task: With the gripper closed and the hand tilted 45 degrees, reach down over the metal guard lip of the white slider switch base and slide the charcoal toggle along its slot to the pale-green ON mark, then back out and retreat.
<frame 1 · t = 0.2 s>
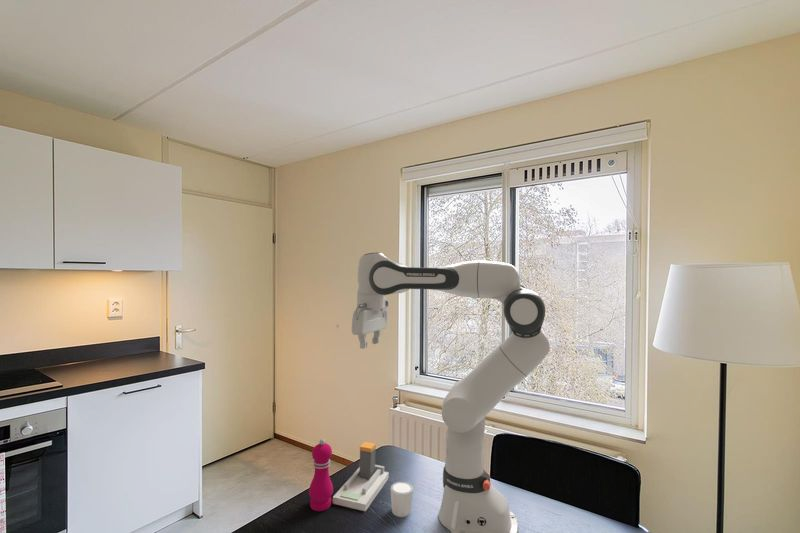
hand: (369, 345, 123), 48 cm above the table, tool pointing down, fingers open, 8 cm apart
white slider switch base: (362, 490, 125), on the table
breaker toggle: (367, 460, 130), point 7 cm above the table, slide at 0.0 cm
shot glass: (401, 511, 115), on the table
pepper mill: (320, 505, 117), on the table
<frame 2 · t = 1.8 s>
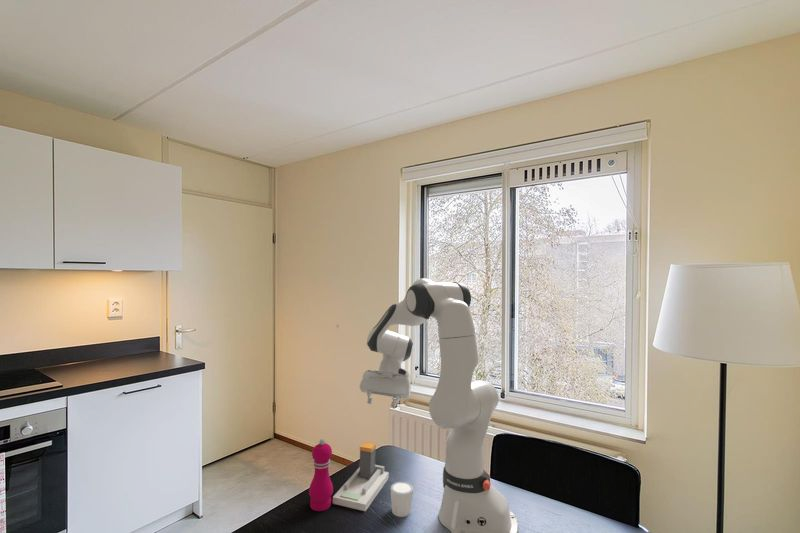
hand: (381, 405, 147), 21 cm above the table, tool tilted 45°, fingers open, 8 cm apart
nothing on the table moved.
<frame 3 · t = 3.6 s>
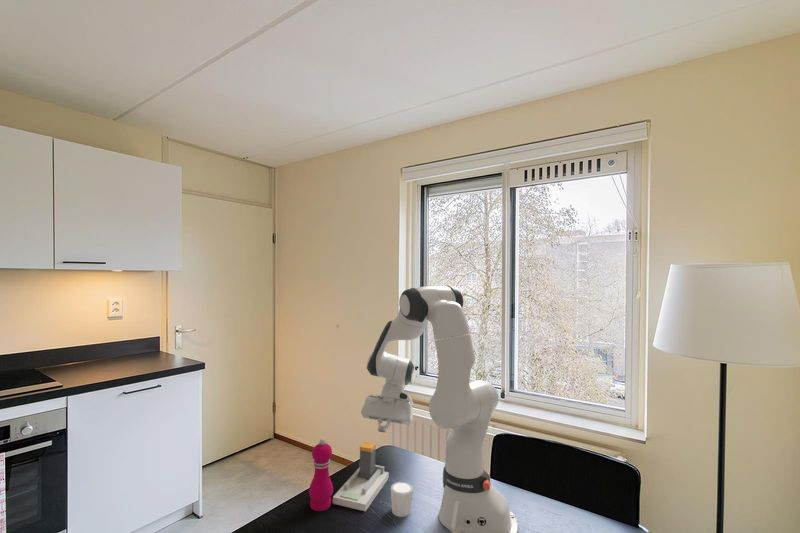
hand: (381, 431, 143), 12 cm above the table, tool tilted 45°, fingers closed
nothing on the table moved.
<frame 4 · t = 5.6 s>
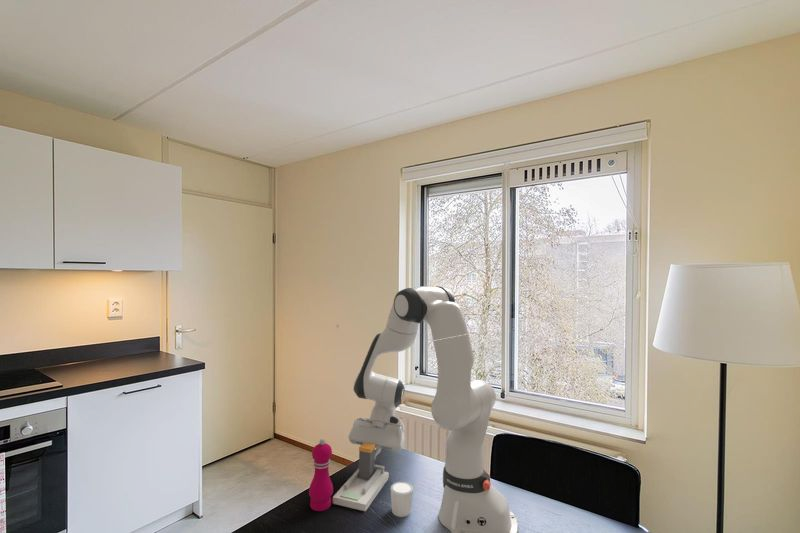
hand: (370, 459, 132), 7 cm above the table, tool tilted 45°, fingers closed, pressing on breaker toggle
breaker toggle: (366, 460, 130), point 7 cm above the table, slide at 0.6 cm, touching gripper
everything else where it was.
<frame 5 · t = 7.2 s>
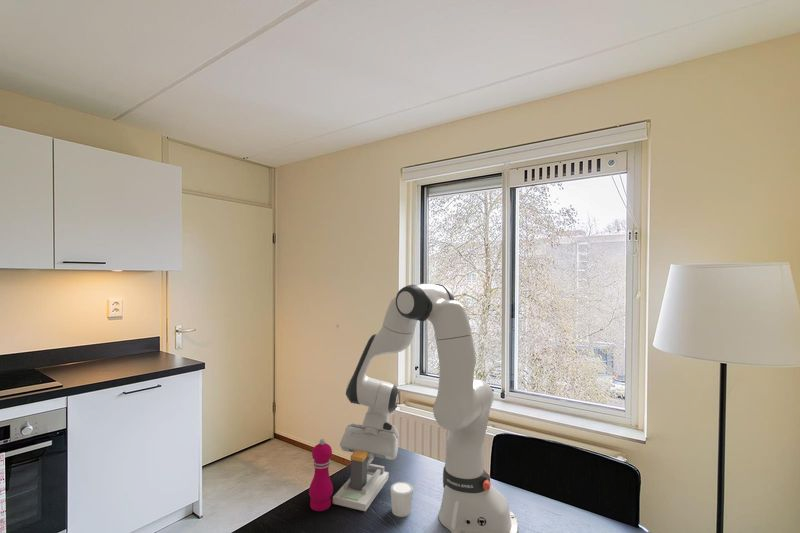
hand: (362, 468, 126), 7 cm above the table, tool tilted 45°, fingers closed, pressing on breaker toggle
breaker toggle: (358, 469, 124), point 7 cm above the table, slide at 7.0 cm, touching gripper
everything else where it was.
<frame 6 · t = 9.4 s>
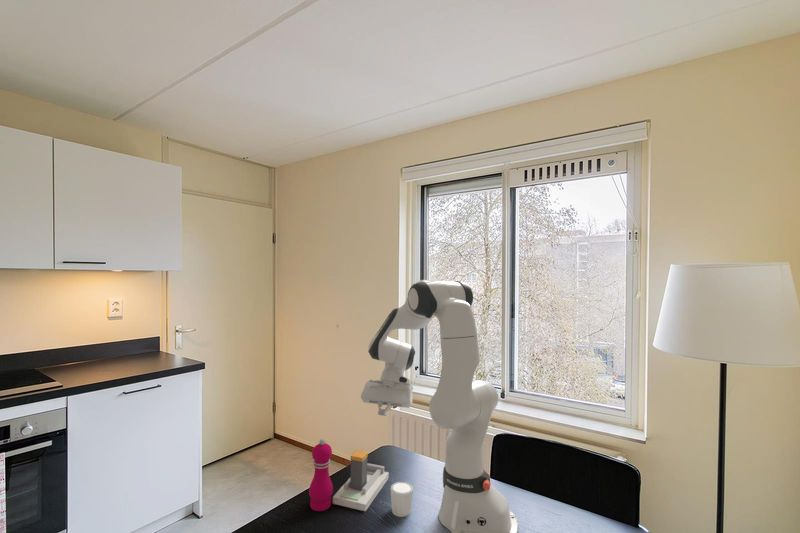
hand: (381, 414, 143), 19 cm above the table, tool tilted 45°, fingers closed
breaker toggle: (358, 469, 124), point 7 cm above the table, slide at 7.0 cm
everything else where it was.
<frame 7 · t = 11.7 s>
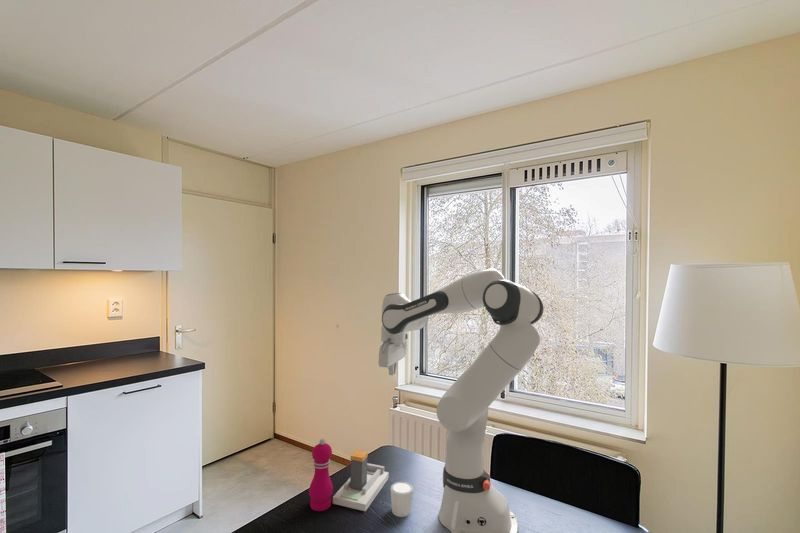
hand: (392, 374, 141), 34 cm above the table, tool pointing down, fingers closed
nothing on the table moved.
at the end: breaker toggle slide at 7.0 cm; pepper mill tilted 0° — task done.
